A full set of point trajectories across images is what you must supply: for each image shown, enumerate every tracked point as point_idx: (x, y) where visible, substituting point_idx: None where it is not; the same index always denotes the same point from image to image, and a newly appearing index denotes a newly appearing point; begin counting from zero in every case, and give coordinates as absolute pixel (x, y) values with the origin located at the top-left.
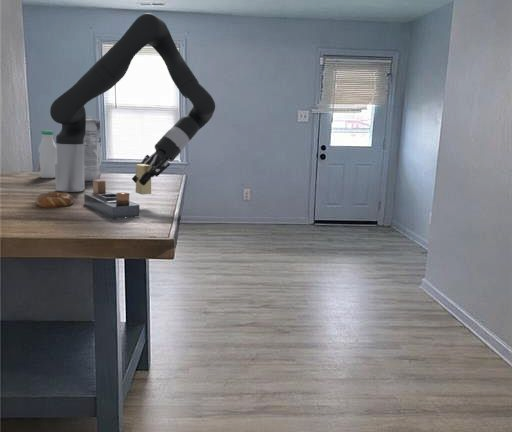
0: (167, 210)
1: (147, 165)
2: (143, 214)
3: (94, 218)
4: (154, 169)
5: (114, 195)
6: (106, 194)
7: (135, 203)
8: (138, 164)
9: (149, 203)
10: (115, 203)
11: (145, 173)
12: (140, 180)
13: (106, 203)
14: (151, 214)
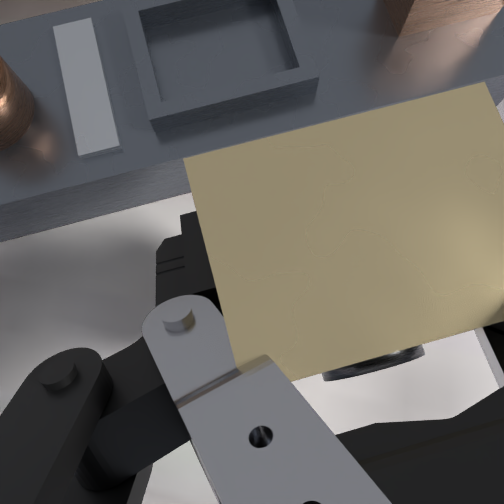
0: (153, 483)
1: (261, 304)
2: (56, 280)
3: (23, 12)
4: (4, 423)
5: (286, 77)
6: (283, 18)
7: (3, 200)
8: (463, 134)
9: (449, 392)
10: (36, 71)
11: (205, 277)
12: (181, 223)
13: (49, 19)
14: (43, 333)
